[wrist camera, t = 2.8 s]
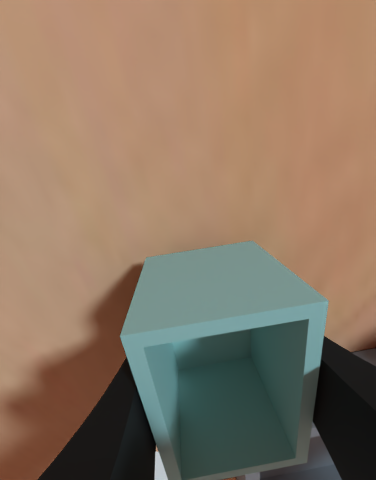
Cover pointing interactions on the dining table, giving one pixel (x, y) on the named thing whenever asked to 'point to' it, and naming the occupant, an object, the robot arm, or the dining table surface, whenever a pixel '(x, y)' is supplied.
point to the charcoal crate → (310, 453)
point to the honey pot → (159, 468)
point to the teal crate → (225, 360)
